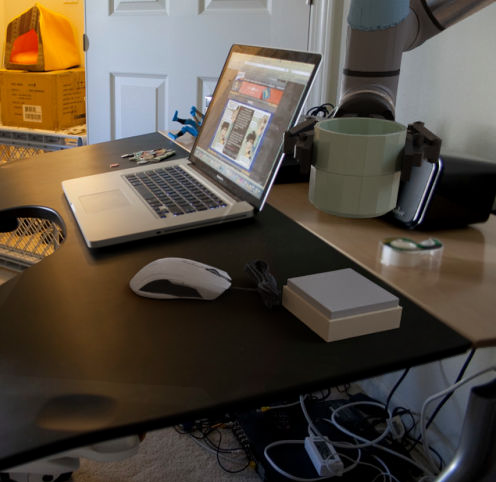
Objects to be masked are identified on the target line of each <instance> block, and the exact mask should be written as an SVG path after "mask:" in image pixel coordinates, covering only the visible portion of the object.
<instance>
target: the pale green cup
mask: <svg viewBox="0 0 496 482" xmlns="http://www.w3.org/2000/svg"><path fill="white" fill-rule="evenodd" d="M407 127H408V125H405V124H403V123H400V122H398V121H396V122H394V121H389V120H383V119H375V118H358V117H354V118H353V117H349V118H333V117H332V118H327V119H326V118H325V119H323V120H319V122H317V123H316V125H315V129H314V140H313V151H312V162H311V163H312V164H311V167H310V174H309V184H308V186H309V187H308V196H307V200H308V201H309V202H310V203H311V204H312V205H313V206H314V207H315V208H316V209H317V210H319V211H320V212H321V213H325V214H327V215H332V216H335V217H341V218H350V219H369V218H370V219H371V218H376V217H380V216H383V215H386V214H387V213H388V212H390V211H392V210H394V209H395V208H396V207H397V200H398V193H399V188H400V181H401V167H402V160H403V153H404V147H405V140H406V133H407Z"/></svg>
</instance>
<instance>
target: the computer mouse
mask: <svg viewBox="0 0 496 482" xmlns="http://www.w3.org/2000/svg"><path fill="white" fill-rule="evenodd" d="M269 271H270V266H269V264H268V263H267V262H266V261H265V260H263V259H259V258H257V259H252V260H251V261H250V262H246V263H245V265H244V267H243V272H244V273H245V274H246V275H247V276H248V277H249V278H250V279H251V280H252V281H253V282H254V283H255V284H256V286H257V288H246V287H236V286H231V285H232V283H231V282H230V281H232V278H231V277H230V275H229V274H228V272H226V271H224V270H221V269H219V268H217V267H214V266H211V265H208V264H206V263H202V262H198V261H195V260H193V259H187V258H182V257H164V258H159V259H156V260H154V261H152V262H150V263H148V264H146V265H145V266H143V267H142V268H141V269H140V270H139V271H138V272H137V273H135V274H134V276H133V277H132V278H131V280H130V281H129V287H130V289H131V290H132V291H133V292H134V293H135V294H136V295H138V296H140V297H145V298H150V299H157V300H158V299H159V300H161V299H162V300H171V299H172V300H174V299H195V300H197V299H198V300H205V301H213V300H215V299H217V298H218V297H220V296H221V295H222V294H223V293H224V292H230V291H231V290H235V291H244V292H258V293H259V294H260V296H261V299H262V301H263V303H264V306H265V307H266V308H267V309H268V310H272V309H273V306H279V305H280V304H281V301H280V297H281V296H280V295H281V294H282V291H281V290H279V289H277V285H278V283H277V281H276V278H275V277H274V275H272V274H271V273H270V272H269ZM268 303H269V304H268Z"/></svg>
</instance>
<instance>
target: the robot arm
mask: <svg viewBox="0 0 496 482" xmlns="http://www.w3.org/2000/svg"><path fill="white" fill-rule="evenodd" d="M494 3H496V0H350V4H349V9H348V14H347V17H346V24H347V25H346V35H345V44H344V46H345V47H344V56H343V67H342V75H341V83H340V93H339V100H338V101H339V102H338V105H337V107H336V109H335V110H334V114H333V116H332V119H333V118H349V117H353V118H354V117H358V118H375V119H383V120H389V121H394V122H397V121H396V105H397V98H398V97H397V95H398V89H399V81H400V74H401V68H402V67H401V65H402V61H403V60H402V59H403V53H407V52H410V51H412V50H415V49H416V48H420V46H422V45H424V43H426V42H427V41H428V40H430V39H432V38H434V37H436V36H437V35H439V34H440V33H442V32H444V31H445V30H447V29H450V28H451V27H452V26H455V25H457V24H458V23H460V22H462V21H463V20H465V19H468V17H471V16H473V15H474V14H476V13H478V12H479V11H481V10H483V9H485V8H487V7H489V6H491V5H492V4H494ZM317 122H320V119H317V118H315V117H314V116H312V115H311V116H310V115H309V116H307V117H304V121H302V122H300V123H298V124H296V125H294V126H292V127H291V128H289V129H287V130H285V131H283V137H282V139H283V140H282V154H283V155H284V154H285V155H291V154H294V155H293V158H294V159H295V160H296V162H297V163H300V166H299V168H300V169H299V174H301V175H308V173H309V171H310V170H311V164H312V163H311V162H312V151H313V140H314V129H315V125H316V123H317ZM442 143H443V139H441V138H440V137H439V136H437V135H436V134H435V133H434V132H432V131H431V130H429V129H428V128H426V127H425V122H423V121H421V120H417V121H413V122H412V123H408V124H407V133H406V140H405V147H404V153H403V160H402V167H401V174H400V181H401V182H410V181H411V175H412V169H413V167H414V168H421V167H423V162H424V161H425V162H426V163H429V164H438V163H439V161H440V155H441V150H442Z"/></svg>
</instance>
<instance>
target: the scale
mask: <svg viewBox="0 0 496 482" xmlns="http://www.w3.org/2000/svg"><path fill="white" fill-rule="evenodd" d="M399 302H400V298H399V297H397V296H395V295H394V294H393V293H391V292H389V291H387V289H385V288H383V287H381V286H379V285H378V284H376V283H375V282H373V281H371V280H370V279H368V278H367V277H365V276H363V275H362V274H361V273H359V272H357V271H355V270H354V269H352V268H350V267H349V268H343V269H337V270H332V271H326V272H320V273H314V274H309V275H302V276H298V277H292V278H288V279H287V284H286V285H283V286H282V299H281V305H282V306H283V307H284V308H285V309H286V310H288V311H289V312H290V313H291V314H292V315H294V317H296V318H298V320H300V322H302V323H303V324H304V325H306V326H307V327H308V328H309V329H310V330H311V331H313V332H314V333H315V334H317V335H318V336H319V337H320V338H321V339H323V340H324V341H325V342H327V343H331V342H336V341H342V340H345V339H350V338H355V337H361V336H366V335H370V334H374V333H380V332H386V331H389V330H395V329H399V328H400V325H401V319H402V312H403V307H402V306H401V305H399V304H400V303H399Z"/></svg>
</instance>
